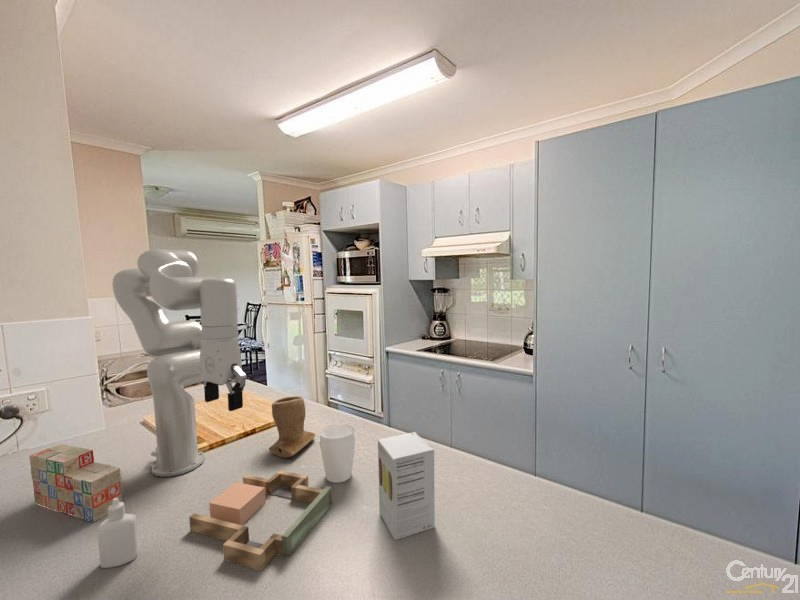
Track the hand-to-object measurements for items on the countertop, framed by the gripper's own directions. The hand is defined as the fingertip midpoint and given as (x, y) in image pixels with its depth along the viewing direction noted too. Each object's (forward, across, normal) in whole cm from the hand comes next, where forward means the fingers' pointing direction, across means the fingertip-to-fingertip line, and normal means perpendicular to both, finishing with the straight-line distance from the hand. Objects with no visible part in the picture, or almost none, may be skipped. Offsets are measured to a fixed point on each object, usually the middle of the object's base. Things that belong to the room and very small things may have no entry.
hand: (223, 404), depth 84 cm
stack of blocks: (+24, -28, -20) cm, 42 cm away
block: (+23, +7, -2) cm, 24 cm away
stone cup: (+23, -7, +25) cm, 35 cm away
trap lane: (+22, +14, 0) cm, 26 cm away
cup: (+22, +17, +21) cm, 35 cm away
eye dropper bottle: (+23, +1, -22) cm, 32 cm away
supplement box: (+22, +41, +16) cm, 49 cm away
